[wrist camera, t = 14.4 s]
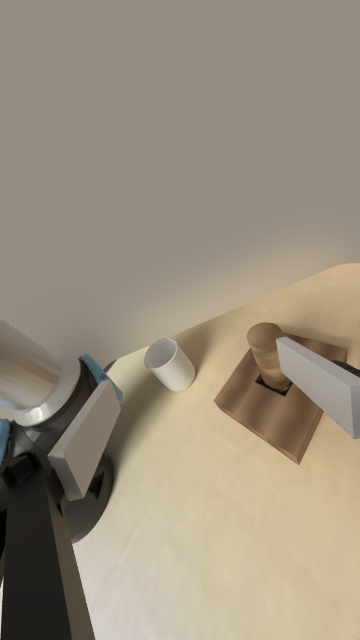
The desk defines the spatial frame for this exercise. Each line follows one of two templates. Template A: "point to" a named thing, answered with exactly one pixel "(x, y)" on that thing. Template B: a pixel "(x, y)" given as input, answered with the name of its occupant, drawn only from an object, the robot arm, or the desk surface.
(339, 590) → the desk surface
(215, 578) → the desk surface
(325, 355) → the seat board
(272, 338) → the oak leg
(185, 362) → the mug
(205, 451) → the desk surface
